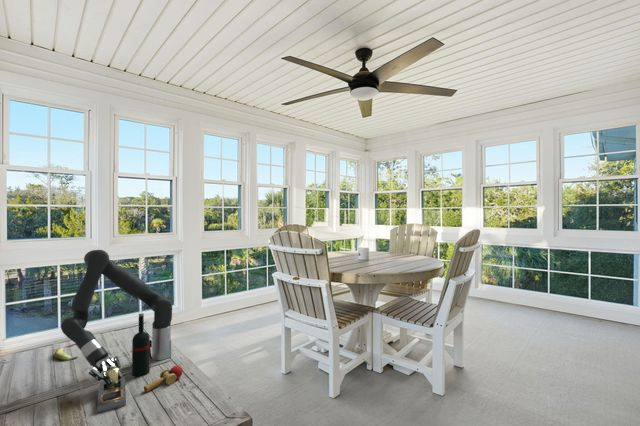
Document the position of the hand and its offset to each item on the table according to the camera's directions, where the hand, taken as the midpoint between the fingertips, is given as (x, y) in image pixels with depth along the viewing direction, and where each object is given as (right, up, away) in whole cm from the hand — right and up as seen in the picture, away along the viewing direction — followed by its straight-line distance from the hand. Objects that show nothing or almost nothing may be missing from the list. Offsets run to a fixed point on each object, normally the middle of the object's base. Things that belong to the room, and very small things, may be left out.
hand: (115, 381), depth 145 cm
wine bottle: (+3, -5, +18) cm, 18 cm away
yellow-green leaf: (-51, -5, +34) cm, 62 cm away
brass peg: (-2, -5, 0) cm, 5 cm away
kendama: (+19, -5, +7) cm, 21 cm away
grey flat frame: (+1, -5, -4) cm, 6 cm away
